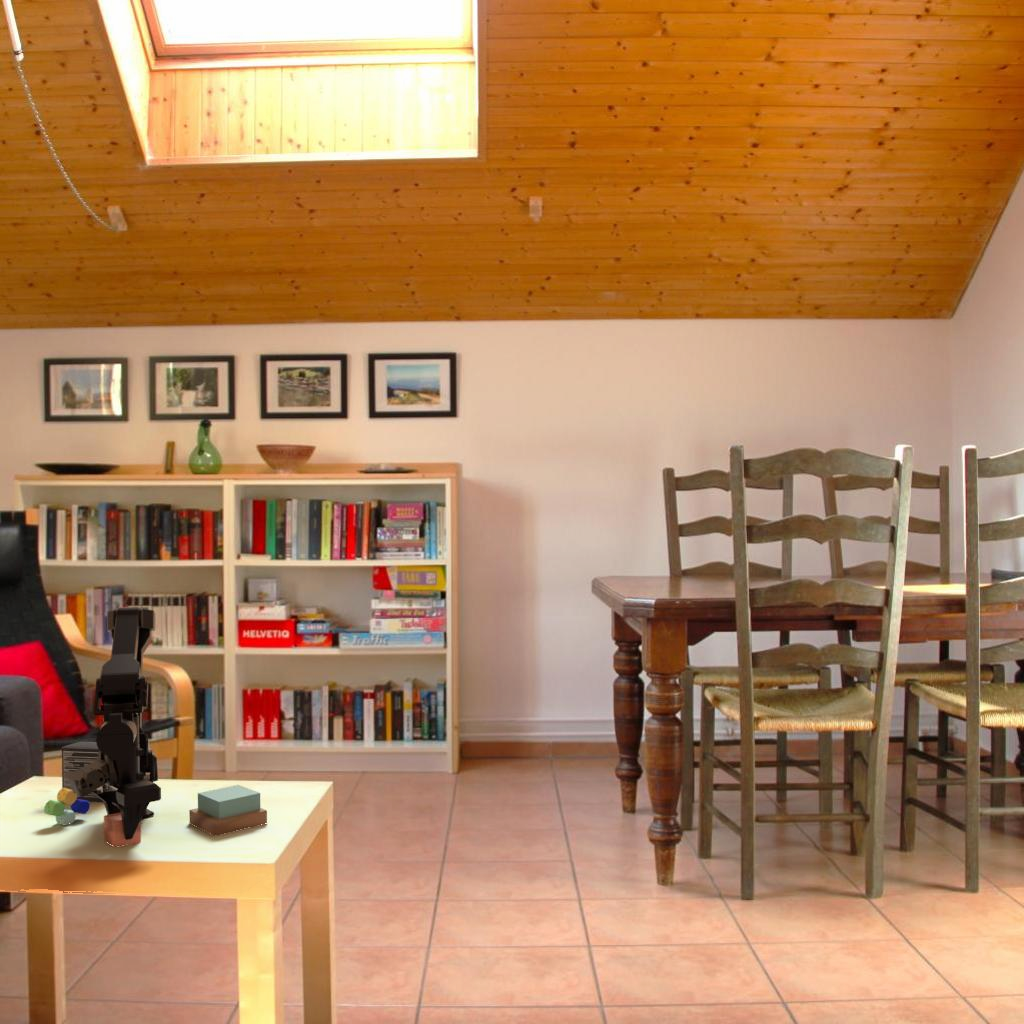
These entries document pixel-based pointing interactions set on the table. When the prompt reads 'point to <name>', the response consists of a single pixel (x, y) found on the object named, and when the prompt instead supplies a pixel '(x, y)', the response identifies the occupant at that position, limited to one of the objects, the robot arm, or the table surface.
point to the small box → (78, 763)
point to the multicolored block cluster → (58, 807)
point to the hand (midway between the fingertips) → (122, 835)
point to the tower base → (227, 821)
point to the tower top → (228, 801)
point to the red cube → (118, 831)
